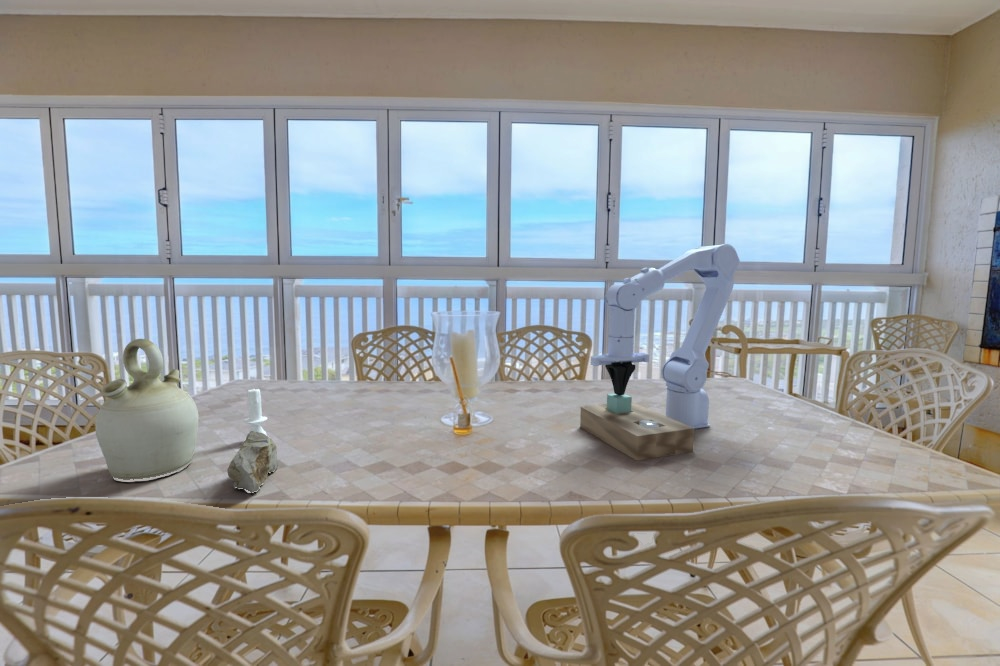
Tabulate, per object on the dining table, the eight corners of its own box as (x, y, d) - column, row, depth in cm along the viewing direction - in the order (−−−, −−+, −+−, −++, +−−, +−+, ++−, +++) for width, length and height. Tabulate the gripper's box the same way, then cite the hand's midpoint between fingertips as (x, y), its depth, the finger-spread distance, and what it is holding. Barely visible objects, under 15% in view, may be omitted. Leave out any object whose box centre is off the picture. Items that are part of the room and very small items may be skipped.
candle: (274, 440, 104) (271, 387, 102) (248, 446, 100) (244, 391, 99) (264, 434, 108) (261, 383, 106) (239, 440, 104) (236, 387, 102)
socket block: (629, 420, 117) (629, 401, 117) (693, 451, 97) (694, 428, 96) (580, 427, 112) (580, 406, 112) (636, 460, 92) (637, 436, 91)
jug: (122, 495, 78) (106, 347, 75) (86, 475, 86) (71, 340, 83) (217, 464, 90) (207, 336, 87) (179, 449, 99) (168, 331, 96)
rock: (244, 461, 89) (242, 418, 85) (281, 463, 90) (280, 421, 86) (216, 510, 78) (211, 463, 74) (257, 512, 79) (255, 466, 75)
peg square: (620, 413, 112) (621, 392, 111) (631, 417, 108) (631, 396, 107) (606, 414, 110) (607, 394, 110) (616, 419, 107) (616, 398, 106)
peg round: (649, 441, 102) (650, 419, 101) (662, 447, 98) (663, 425, 98) (634, 443, 101) (635, 421, 100) (646, 450, 97) (647, 427, 96)
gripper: (636, 333, 113) (634, 387, 115) (584, 335, 108) (583, 392, 110) (655, 336, 107) (653, 394, 108) (600, 339, 102) (599, 400, 103)
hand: (619, 394), depth 109 cm, fingers closed
